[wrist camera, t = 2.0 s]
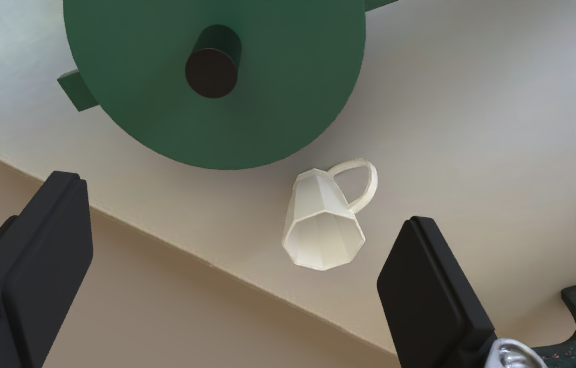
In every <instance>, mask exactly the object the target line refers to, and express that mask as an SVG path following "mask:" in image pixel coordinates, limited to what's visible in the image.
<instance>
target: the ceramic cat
mask: <svg viewBox="0 0 576 368" xmlns="http://www.w3.org/2000/svg"><path fill="white" fill-rule="evenodd" d="M562 299H563V301H564V303H565V304H566V306H567V308H568V309H569V311H570V312H571V314H572V316H573V318H574V320H575V323H576V285H575V286H572V287H568V288H566V289H563V290H562ZM530 349H532V350H533V351H534V352H535V353H536V354H537V355H538V356H539V357H540V358H541V359H542V360H543V362H544V363H545V364H546V366H547V368H576V331H575V332H574V334H573V335H572V336H571V337H570V338H569V339H568V340H567V341H565V342H563V343H560V344H556V345H550V346H542V347H535V348H530Z"/></svg>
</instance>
